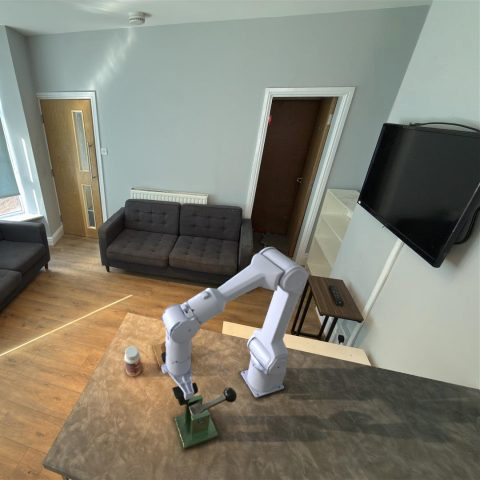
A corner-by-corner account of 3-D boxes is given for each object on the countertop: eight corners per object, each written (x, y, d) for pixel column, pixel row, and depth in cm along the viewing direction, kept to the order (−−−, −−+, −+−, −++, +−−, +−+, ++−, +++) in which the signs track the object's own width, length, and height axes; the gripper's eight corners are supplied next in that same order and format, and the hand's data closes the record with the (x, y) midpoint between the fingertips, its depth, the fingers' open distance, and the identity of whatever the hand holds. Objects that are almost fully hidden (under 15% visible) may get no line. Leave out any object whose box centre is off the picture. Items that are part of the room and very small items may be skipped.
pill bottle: (138, 377, 79) (137, 359, 76) (124, 375, 80) (121, 356, 76) (142, 364, 84) (141, 346, 80) (128, 361, 84) (126, 343, 81)
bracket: (205, 409, 71) (207, 387, 67) (217, 436, 65) (221, 415, 61) (174, 419, 69) (174, 398, 64) (184, 449, 63) (184, 428, 58)
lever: (233, 389, 67) (231, 382, 65) (239, 401, 64) (238, 394, 62) (190, 410, 65) (187, 403, 64) (195, 423, 63) (192, 417, 61)
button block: (180, 340, 91) (181, 334, 90) (189, 360, 84) (189, 353, 83) (153, 348, 89) (153, 341, 88) (159, 368, 82) (159, 361, 81)
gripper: (153, 332, 65) (155, 367, 71) (171, 385, 52) (172, 423, 59) (180, 325, 66) (179, 361, 73) (204, 376, 54) (201, 413, 60)
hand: (178, 388), depth 66 cm, fingers open, 7 cm apart
